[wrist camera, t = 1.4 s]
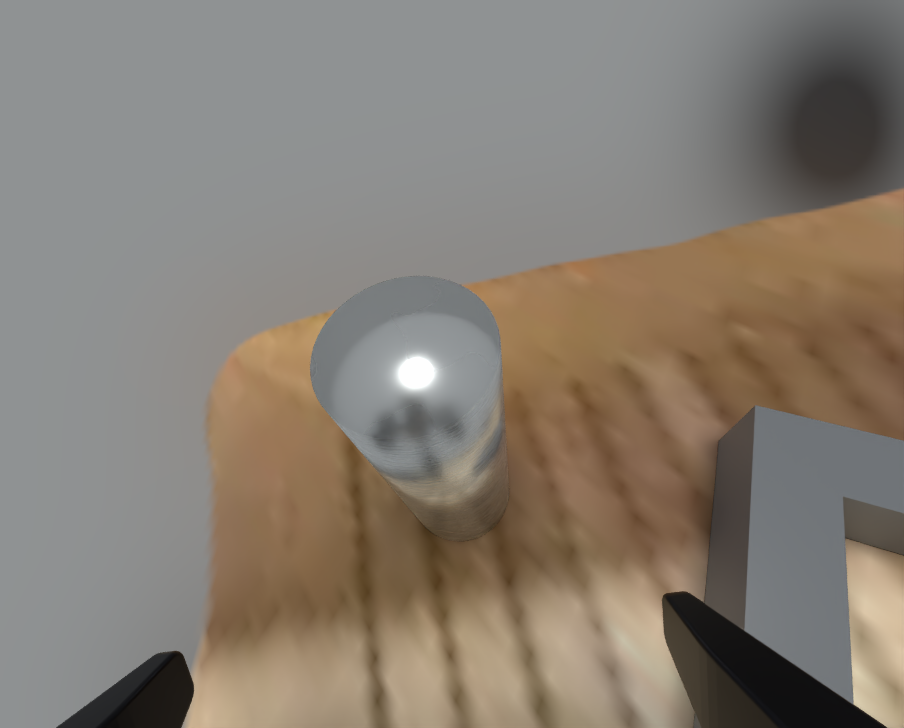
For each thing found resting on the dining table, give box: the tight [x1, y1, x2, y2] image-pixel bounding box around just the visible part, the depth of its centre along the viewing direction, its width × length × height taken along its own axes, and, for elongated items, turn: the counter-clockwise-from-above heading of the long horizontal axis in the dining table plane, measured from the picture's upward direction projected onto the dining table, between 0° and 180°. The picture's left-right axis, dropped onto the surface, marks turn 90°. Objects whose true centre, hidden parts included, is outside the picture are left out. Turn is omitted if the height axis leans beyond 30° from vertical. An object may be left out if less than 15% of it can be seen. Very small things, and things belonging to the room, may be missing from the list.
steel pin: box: [310, 276, 509, 541], centre depth 17 cm, size 5×5×13 cm
